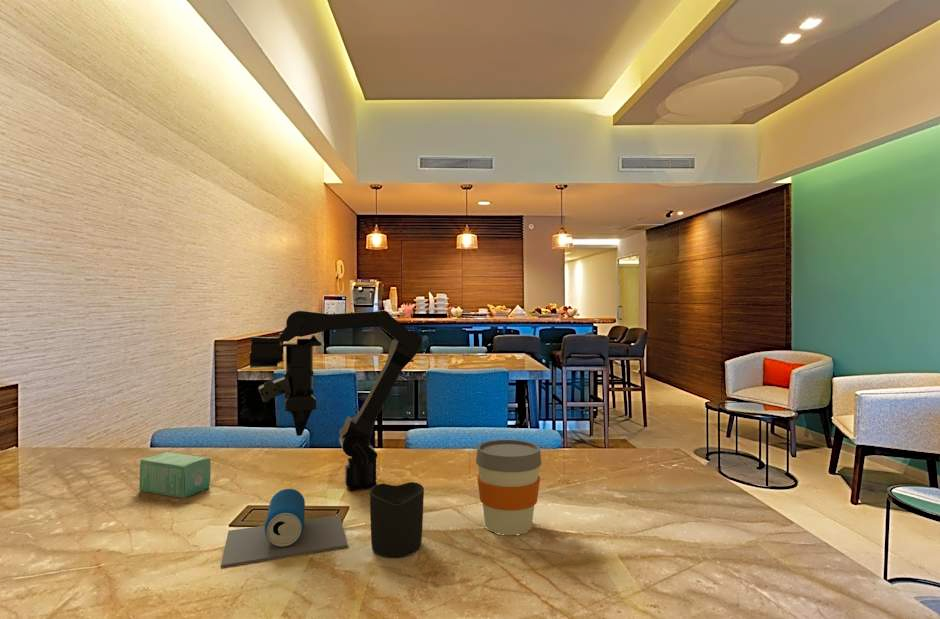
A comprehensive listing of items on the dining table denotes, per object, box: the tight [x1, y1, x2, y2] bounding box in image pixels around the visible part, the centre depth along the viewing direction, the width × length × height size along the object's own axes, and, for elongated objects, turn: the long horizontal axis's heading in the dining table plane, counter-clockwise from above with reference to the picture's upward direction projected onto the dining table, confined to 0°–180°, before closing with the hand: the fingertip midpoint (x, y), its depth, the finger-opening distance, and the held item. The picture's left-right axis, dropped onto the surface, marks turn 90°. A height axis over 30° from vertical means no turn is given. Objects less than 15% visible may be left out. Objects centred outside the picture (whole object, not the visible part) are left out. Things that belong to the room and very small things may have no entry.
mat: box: [220, 514, 349, 568], centre depth 90 cm, size 20×14×1 cm
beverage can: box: [264, 488, 306, 546], centre depth 92 cm, size 6×6×12 cm
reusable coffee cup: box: [475, 439, 542, 536], centre depth 97 cm, size 12×13×15 cm
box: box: [139, 451, 211, 499], centre depth 115 cm, size 7×14×8 cm, turn 72°
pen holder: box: [369, 481, 425, 559], centre depth 88 cm, size 9×9×10 cm
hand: (299, 435), depth 113 cm, fingers closed
